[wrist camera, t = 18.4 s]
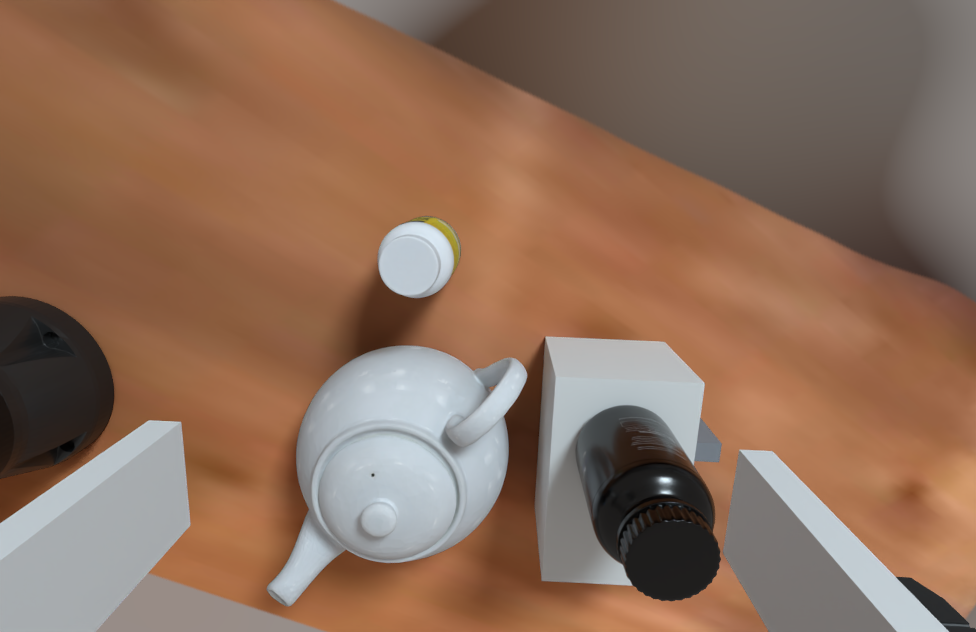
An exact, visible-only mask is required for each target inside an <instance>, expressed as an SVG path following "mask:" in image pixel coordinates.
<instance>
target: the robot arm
mask: <svg viewBox="0 0 976 632" xmlns="http://www.w3.org/2000/svg"><path fill="white" fill-rule="evenodd" d="M113 402H114V386H113V379H112V375H111V371H110V368H109V365H108V362H107V360H106V358H105V356H104V354H103V352H102V350H101V349H100V347H99V345H98V344H97V342H96V341H95V340H94V338H93V337H92V336H91V335H90V334H89V332H88V331H87V330H86V329H85V328H84V327H83V326H82V325H81V324H79V323H78V322H77V321H76V320H75V319H73V318H72V317H71V316H69V315H68V314H66V313H65V312H63V311H61V310H60V309H58V308H56V307H54V306H52V305H49V304H47V303H44V302H42V301H38V300H35V299H31V298H25V297H16V296H6V297H0V479H1V478H5V477H10V476H14V475H18V474H22V473H27V472H31V471H35V470H39V469H44V468H48V467H51V466H54V465H56V464H59V463H61V462H63V461H65V460H67V459H69V458H71V457H72V456H74V455H75V454H77V453H78V452H80V451H81V450H83V449H84V448H86V447H87V446H89V445H90V444H91V443H93V442H94V441H95V440H96V439H97V438H98V437H99V435H100V434H101V433H102V431H103V430H104V428H105V427H106V425H107V423H108V421H109V418H110V415H111V412H112V408H113ZM189 526H190V514H189V503H188V492H187V481H186V470H185V459H184V448H183V437H182V426H181V422H171V421H151V420H149V421H147V422H146V423H145V424H143V425H142V426H140V427H139V428H137V429H136V430H134V431H133V432H132V433H130V434H129V435H127V436H126V437H124V438H123V439H121V440H120V441H119V442H117V443H116V444H114V445H113V446H111V447H110V448H108V449H107V450H106V451H104V452H103V453H101V454H100V455H98V456H97V457H95V458H94V459H92V460H91V461H90V462H88V463H87V464H85V465H84V466H82V467H81V468H79V469H78V470H77V471H75V472H74V473H72V474H71V475H69V476H68V477H66V478H65V479H64V480H62V481H61V482H59V483H58V484H56V485H55V486H53V487H52V488H51V489H49V490H48V491H46V492H45V493H43V494H42V495H40V496H39V497H38V498H36V499H35V500H33V501H32V502H30V503H29V504H27V505H26V506H25V507H23V508H22V509H20V510H19V511H17V512H16V513H14V514H13V515H12V516H10V517H9V518H7V519H6V520H4V521H3V522H1V523H0V632H96V630H97V629H98V628H99V627H100V626H101V625H102V624H103V623H104V622H105V620H106V619H107V618H108V617H109V616H110V615H111V614H112V613H113V611H114V610H115V609H116V608H117V607H118V606H119V605H120V604H121V602H122V601H123V600H124V599H125V598H126V597H127V595H129V594H130V592H131V591H132V590H133V589H134V588H135V587H136V586H137V585H138V583H139V582H140V581H141V580H142V579H143V578H144V577H145V576H146V574H147V573H148V572H149V571H150V570H151V569H152V568H153V567H154V566H155V564H156V563H157V562H158V561H159V560H160V559H161V558H162V557H163V555H164V554H165V553H166V552H167V551H168V550H169V549H170V548H171V546H172V545H173V544H174V543H175V542H176V541H177V540H178V539H179V538H180V536H181V535H182V534H183V533H184V532H185V531H186V530H187V529H188V527H189ZM723 554H724V556H725V557H726V559H727V561H728V563H729V564H730V566H731V568H732V569H733V571H734V573H735V574H736V576H737V578H738V580H739V581H740V583H741V585H742V586H743V588H744V590H745V592H746V593H747V595H748V597H749V598H750V600H751V602H752V604H753V605H754V607H755V609H756V610H757V612H758V614H759V616H760V617H761V619H762V621H763V622H764V624H765V626H766V627H767V629H768V631H769V632H976V629H975V628H970V626H969V623H968V622H967V621H966V620H965V619H964V618H963V617H962V616H961V615H960V614H959V613H958V612H957V611H956V610H955V609H954V608H953V607H952V606H951V605H950V604H949V603H947V602H946V601H945V600H944V599H943V598H942V597H940V596H938V595H937V594H935V593H934V592H932V591H931V590H929V589H927V588H926V587H924V586H923V585H921V584H920V583H918V582H917V581H915V580H913V579H912V578H907V577H895V576H894V575H893V574H892V573H891V572H890V571H889V570H888V569H887V568H886V567H885V566H884V565H883V564H882V563H881V562H880V561H879V560H878V559H877V558H876V557H875V556H874V555H873V554H872V552H871V551H870V550H869V549H868V548H867V547H866V546H865V545H864V544H863V543H862V542H861V541H860V540H859V539H858V538H857V537H856V536H855V535H854V534H853V533H852V532H851V531H850V530H849V529H848V528H847V527H846V526H845V525H844V524H843V523H842V522H841V521H840V520H839V519H838V518H837V517H836V516H835V515H834V514H833V513H832V512H831V511H830V510H829V509H828V508H827V507H826V506H825V505H824V504H823V503H822V501H821V500H820V499H819V498H818V497H817V496H816V495H815V494H814V493H813V492H812V491H811V490H810V489H809V488H808V487H807V486H806V485H805V484H804V483H803V482H802V481H801V480H800V479H799V478H798V477H797V476H796V475H795V474H794V473H793V472H792V471H791V470H790V469H789V468H788V467H787V466H786V465H785V464H784V463H783V462H782V461H781V460H780V459H779V458H778V457H777V456H776V455H775V454H774V453H773V451H755V450H739V455H738V461H737V467H736V474H735V480H734V486H733V493H732V499H731V505H730V511H729V518H728V524H727V530H726V536H725V543H724V549H723Z"/></svg>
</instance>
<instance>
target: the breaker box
mask: <svg viewBox="0 0 976 632" xmlns="http://www.w3.org/2000/svg"><path fill="white" fill-rule="evenodd" d="M704 385H705V383H704V382H703V381H702V380H701V379H700V378H699V377H698V376H697V375H696V374H695V373H694V372H693V371H692V370H691V369H690V368H689V367H688V366H687V365H686V364H685V363H684V362H683V360H682V359H681V358H680V357H679V356H678V355H677V354H676V353H675V352H674V351H673V350H672V349H671V348H670V347H669V346H668V345H667V344H666V343H665V342H658V341H635V340H612V339H589V338H566V337H545V350H544V366H543V381H542V397H541V412H540V428H539V444H538V459H537V475H536V490H535V516H536V527H537V537H538V548H539V558H540V569H541V580H542V581H553V582H573V583H593V584H612V585H632V584H631V581H630V580H629V579H628V578H627V576H626V573H625V569H624V567H623V565H622V564H620V563H619V562H617V561H616V560H614V559H613V558H612V557H611V556H610V555H608V554H607V553H606V551H605V550H604V549H603V548H602V546H601V545H600V543H599V542H598V540H597V537H596V535H595V532H594V529H593V526H592V522H591V519H590V515H589V511H588V507H587V503H586V499H585V495H584V491H583V487H582V483H581V479H580V475H579V471H578V467H577V462H576V454H575V449H576V443H577V439H578V436H579V434H580V432H581V430H582V428H583V427H584V426H585V424H586V423H587V422H588V421H589V420H590V419H591V418H592V417H593V416H595V415H596V414H598V413H599V412H601V411H603V410H605V409H608V408H610V407H614V406H619V405H634V406H639V407H643V408H645V409H648V410H650V411H652V412H653V413H655V414H657V415H658V416H659V417H660V418H661V419H662V420H663V421H664V422H665V423H666V424H667V425H668V427H669V428H670V430H671V431H672V433H673V434H674V436H675V437H676V439H677V440H678V442H679V444H680V445H681V447H682V448H683V450H684V451H685V453H686V454H687V456H688V457H689V459H690V461H691V462H692V464H693V465H694V461H705V462H719V459H720V452H721V445H722V444H721V442H720V441H719V440H718V439H717V437H716V436H715V435H714V434H713V433H712V431H711V430H710V429H709V428H708V426H707V425H706V424H705V423H704V422H703V420H702V419H701V418H700V415H701V408H702V400H703V393H704ZM632 586H633V585H632Z"/></svg>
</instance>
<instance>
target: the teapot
mask: <svg viewBox="0 0 976 632" xmlns="http://www.w3.org/2000/svg"><path fill="white" fill-rule="evenodd" d="M526 379H527V372H526V370H525V368H524V367H523V365H522V364H521V363H520V362H519V361H518V360H517V359H514V358H505V359H502V360H500V361H498V362H496V363H494V364H492V365H490V366H488V367H486V368H483V369H480V368H478V369H476V370H475V371H473V370H472V369H471V368H469V367H468V366H467V365H465V364H464V363H463V362H461V361H460V360H458V359H457V358H455V357H453V356H451V355H449V354H446V353H444V352H441V351H438V350H435V349H431V348H427V347H421V346H392V347H386V348H381V349H377V350H373V351H370V352H368V353H365V354H363V355H361V356H359V357H357V358H355V359H353V360H351V361H350V362H348V363H347V364H345V365H344V366H342V367H341V368H340V369H339V370H337V371H336V372H335V373H334V374H333V375H332V376H331V377H330V378H329V379H328V380H327V381H326V382H325V383H324V384H323V385H322V387H321V388H320V389H319V391H318V392H317V393H316V395H315V396H314V398H313V400H312V401H311V403H310V405H309V407H308V409H307V411H306V413H305V415H304V418H303V421H302V424H301V427H300V430H299V435H298V440H297V448H296V467H297V475H298V481H299V484H300V488H301V491H302V494H303V497H304V499H305V501H306V504H307V506H308V508H309V511H308V513H307V515H306V517H305V520H304V522H303V525H302V528H301V530H300V533H299V536H298V539H297V541H296V544H295V546H294V549H293V551H292V553H291V555H290V558H289V559H288V561H287V563H286V565H285V566H284V568H283V569H282V571H281V572H280V573H279V574H278V575H277V577H276V578H275V579H274V580H273V581H272V582H271V583H270V584H269V585H268V587H267V591H268V593H269V594H270V595H271V597H272V598H274V599H275V600H277V601H278V602H280V603H281V604H283V605H285V606H291V605H292V604H293V603H294V602H295V601H296V600H297V599H298V597H299V596H300V595H301V594H302V593H303V591H304V590H305V589H306V588H307V587H308V586H309V584H310V583H311V582H312V581H313V580H314V578H315V577H316V576H317V575H318V574H319V573H320V572H321V571H322V570H323V569H324V568H325V567H326V566H327V565H328V564H329V563H330V562H331V561H332V560H333V559H334V558H336V557H337V556H338V555H340V554H341V553H342V552H344V551H345V550H348V551H349V552H351V553H353V554H355V555H357V556H359V557H361V558H364V559H367V560H371V561H376V562H383V563H401V562H406V561H412V560H417V559H422V558H426V557H429V556H432V555H435V554H437V553H440V552H442V551H445V550H447V549H448V548H450V547H452V546H454V545H456V544H457V543H459V542H460V541H461V540H463V539H464V538H465V537H467V536H468V535H469V534H470V533H471V532H473V531H474V530H475V529H476V528H477V527H478V526H479V524H480V523H481V522H482V521H483V520H484V519H485V517H486V516H487V515H488V513H489V512H490V510H491V509H492V507H493V505H494V504H495V502H496V500H497V498H498V496H499V494H500V491H501V489H502V486H503V483H504V479H505V476H506V471H507V465H508V457H509V440H508V432H507V427H506V422H505V418H504V415H505V414H506V413H507V411H508V410H509V408H510V407H511V406H512V405H513V403H514V402H515V401H516V399H517V398H518V396H519V394H520V392H521V390H522V389H523V387H524V384H525V382H526ZM495 385H497V386H496V387H495V388H494V390H493V391H491V390H490V388H489V387H492V386H495Z"/></svg>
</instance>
